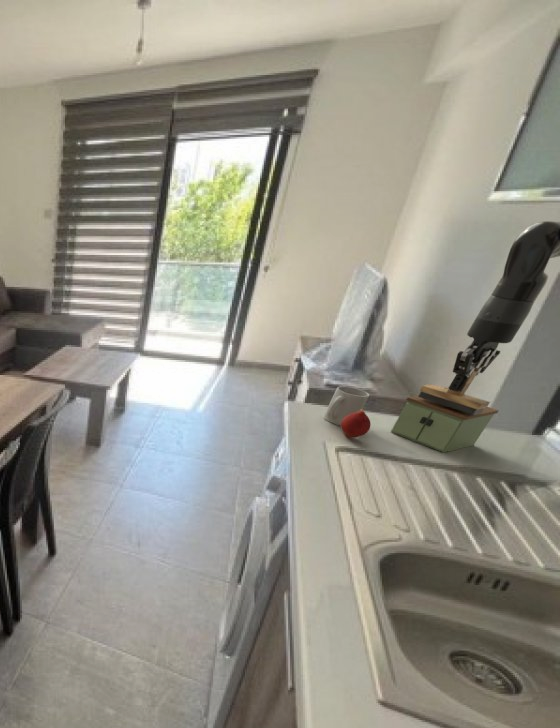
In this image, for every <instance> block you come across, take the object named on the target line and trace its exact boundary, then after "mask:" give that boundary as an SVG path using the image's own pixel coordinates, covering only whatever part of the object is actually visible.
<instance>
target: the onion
mask: <svg viewBox="0 0 560 728" xmlns="http://www.w3.org/2000/svg"><path fill="white" fill-rule="evenodd" d="M371 425H372V424H371V419H370V417H369V416H368V415H367V414H366V412H365V409H360V410H359V411H358V412H356V413H352V414H350V415H348V416H346V417H345V418H344V419H343V420H342V422H341V425H340V429H341V431H342V432H343V434H344V436H345V437H346V438H347V439H354V438H359V437H362V436H364V435H366V434H367V433H368V432H369V431H370V430H371Z"/></svg>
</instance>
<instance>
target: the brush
mask: <svg viewBox="0 0 560 728" xmlns="http://www.w3.org/2000/svg"><path fill="white" fill-rule="evenodd" d="M463 369H464V368H463ZM476 374H477V371H473V372H472V374H471V376H470V377H469V378H468V380H467V382H466V383H465V385H464V387H463V388H462V390H461V391H458V392H456V391H453V390H450V389H446V388H444V386H443V387H442V386H439V385H435V384H432V383H430V384H423V385H421V387H420V389H419V394H418V395H419V396H418V395H417V396H418V397H421V398H424V399H427V400H430V401H433V402H436V403H439V404H442V405H445V406H448V407H451V408H454V409H457V410H460V411H463V412H466V413H469V414H472V415H474V414H479V413H481V412H482V411H483V409H484V408H487V407H489V405H490V403H491V401H488V400H485V399H483V398H479V397H476V396H473V395H469V394H465V393H466V392H467V390H468V389H467V388H469V387H470V386H471V384H472V382H473V381H474V379H475V377H476V376H475V375H476ZM473 378H474V379H473ZM472 380H473V381H472ZM470 383H471V384H470ZM475 397H476V398H475Z"/></svg>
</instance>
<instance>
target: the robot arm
mask: <svg viewBox="0 0 560 728" xmlns="http://www.w3.org/2000/svg"><path fill="white" fill-rule="evenodd" d="M559 257H560V221H552V220H546V221H545V220H544V221H539V222H536V223H533V224H531V225H530V226H528V227H526V228H525V229H523V230H522V232H520V234H518V235H517V237H516V238H515V239H514V241H513V243H512V245H511V246H510V249H509V252H508V255H507V258H506V260H505V264H504V268H503V272H502V276H501V277H500V278H499V280H498V282H497V284H496V285H495V287H494V289H493V290H492V293H491V294H490V296H489V298H488V299H486V301H485V302H484V303H483V305H482V307H481V309H480V310H479V312H478V313H477V316H476V317H475V319H474V320H473V322H472V324H471V326H470V327H469V329H468V331H467V333H466V335H467V337H469V338H472V339H473V340H472V342H471V343H470V344H469V345H468V346H467V347H466V348H465V350H464V351H462V350H460V351H458V353H457V355H456V359H455V363H454V364H453V369H452V373H454V374H455V376H454V378H453V379H452V381H451V383H450V384H449V386H448V387H449V389H450V390H453V391H456V392H458V391H461V390H462V388H463V387H464V385H465V383H466V382H467V380H468V378H469V377H470V376H471V374H472V372H473V371H477V374H476V375H475V377H477V376H479V375H480V374H483V373H484V372H485V371H486V370H487V368H488V367H489V366H490V365H491V364H492V363H493V362H494V360H495V359H496V358H498V356H499V355H500V354H501V350H497V348H498V346H499V344H509V343H511V342H512V341H513V340H514V338H515V336H516V335H517V333H518V332H519V330H520V329H521V327H522V325H523V324H524V322H525V321H526V319H527V318H528V316H529V314H530V313H531V310H532V308H533V305H534V303H535V302H536V300H537V298H539V295H540V294H541V292H542V291H543V289H544V288H545V286H546V284H547V282H548V279H549V275H548V274H547V273H546V272H545V270H546V268H547V265H548V263H549V261H550V259H553V258H554V259H555V258H559ZM463 368H464V369H463ZM475 377H474V378H473V380H472V382H473V381H474V379H475ZM472 382H471V383H470V385H471V384H472ZM468 388H469V387H468ZM468 388H467V390H468Z"/></svg>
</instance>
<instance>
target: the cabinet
mask: <svg viewBox="0 0 560 728" xmlns="http://www.w3.org/2000/svg"><path fill="white" fill-rule="evenodd" d="M418 396H419V394H418V395H413V396H408V397H406V399H405V400H406V403H405V405H404V407H403V409H402V410H401V413H400V414H399V415H398V417H397V419H396V421H395V423H394V424H393V426H392V429H391V430H390V433H392V434H395V435H397V436H400V437H403V438H406V439H408V440H410V441H412V442H415V443H418V444H420V445H423V446H425V447H428V448H430V447H431V448H430V449H433V448H434V449H433V450H435V449H436V450H435V451H438V450H439V451H438V452H440V451H442V452H441V453H443V452H444V453H448V452H451V451H456V450H459V449H463V448H468V447H472V446H474V445H476V443H477V441H478V439H479V438H480V436H481V435H482V433H483V432H484V430H485V429H486V427H487V426H488V424H489V423H490V421H491V419H492V418H493V417H494V415H496V414H498V413H499V409H495V408H492V407H489V406H487V408H484V409H483V411H482V412H481V413H479V414H474V415H472V414H469V413H466V412H463V411H460V410H457V409H454V408H451V407H448V406H445V405H442V404H439V403H436V402H433V401H430V400H427V399H424V398H421V397H418ZM447 451H448V452H447Z"/></svg>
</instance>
